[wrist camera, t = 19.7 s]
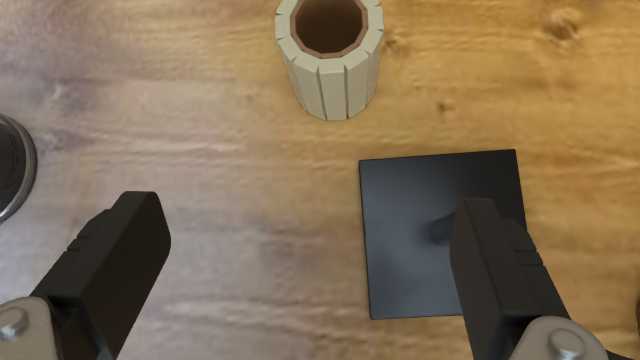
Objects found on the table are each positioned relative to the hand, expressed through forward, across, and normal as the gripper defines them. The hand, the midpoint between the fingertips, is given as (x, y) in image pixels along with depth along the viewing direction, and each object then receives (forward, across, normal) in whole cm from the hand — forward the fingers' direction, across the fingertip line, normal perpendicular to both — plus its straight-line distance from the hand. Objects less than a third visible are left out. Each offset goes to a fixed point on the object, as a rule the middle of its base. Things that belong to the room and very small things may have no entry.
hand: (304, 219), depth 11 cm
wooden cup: (+22, 0, +5) cm, 23 cm away
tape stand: (+14, -8, +13) cm, 21 cm away
